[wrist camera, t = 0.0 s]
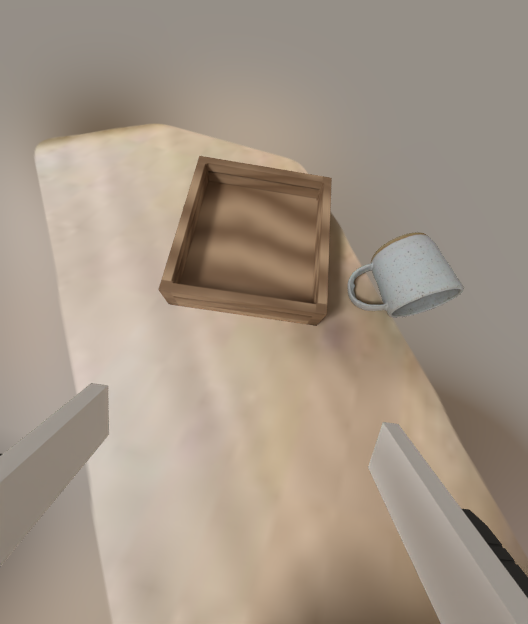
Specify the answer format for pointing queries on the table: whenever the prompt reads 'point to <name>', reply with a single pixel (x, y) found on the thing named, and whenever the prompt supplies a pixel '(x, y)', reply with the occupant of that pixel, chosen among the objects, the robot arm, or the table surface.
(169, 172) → the table surface
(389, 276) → the ceramic mug
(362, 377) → the table surface
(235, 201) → the crate
